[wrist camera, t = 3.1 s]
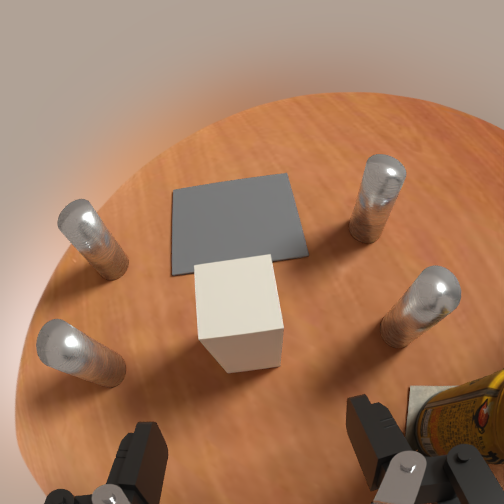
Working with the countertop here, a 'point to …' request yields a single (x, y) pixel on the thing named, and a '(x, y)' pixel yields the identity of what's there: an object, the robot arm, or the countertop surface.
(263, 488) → the countertop surface
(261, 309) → the cream block
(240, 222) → the grey mat
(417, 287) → the posts
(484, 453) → the condiment
